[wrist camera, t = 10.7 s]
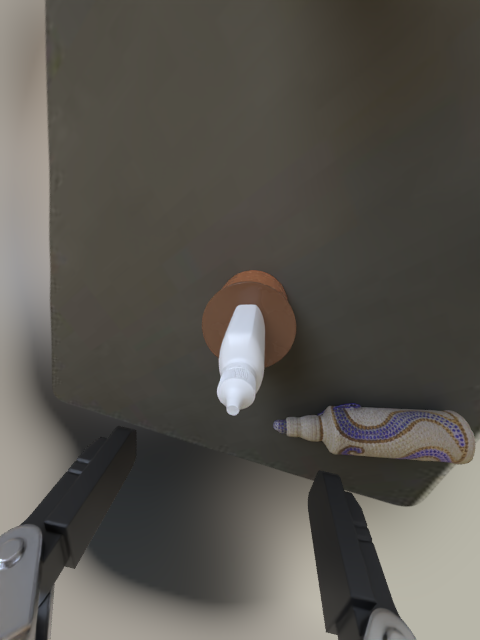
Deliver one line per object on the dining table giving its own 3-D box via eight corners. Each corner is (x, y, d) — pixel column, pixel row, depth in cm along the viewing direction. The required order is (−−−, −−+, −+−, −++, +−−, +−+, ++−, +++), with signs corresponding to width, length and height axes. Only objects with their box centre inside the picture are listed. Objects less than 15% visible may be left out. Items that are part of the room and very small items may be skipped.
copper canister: (223, 262, 31) (207, 274, 23) (296, 276, 31) (307, 292, 22) (214, 329, 35) (197, 360, 26) (280, 342, 34) (284, 377, 26)
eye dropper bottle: (218, 340, 25) (180, 426, 14) (241, 296, 23) (217, 355, 12) (254, 358, 26) (245, 456, 14) (280, 315, 24) (292, 391, 12)
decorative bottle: (449, 398, 35) (488, 435, 28) (435, 436, 37) (469, 478, 31) (273, 390, 37) (274, 422, 31) (272, 427, 40) (273, 462, 34)
